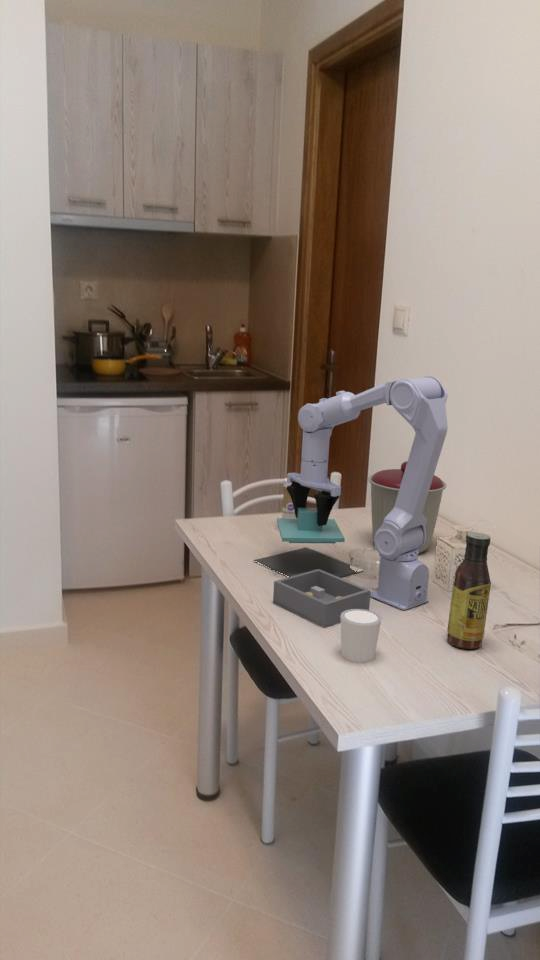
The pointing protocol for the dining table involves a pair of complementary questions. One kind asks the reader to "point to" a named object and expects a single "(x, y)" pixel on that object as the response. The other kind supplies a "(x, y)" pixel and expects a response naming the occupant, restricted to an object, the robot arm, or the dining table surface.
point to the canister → (386, 494)
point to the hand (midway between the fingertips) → (310, 521)
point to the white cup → (359, 634)
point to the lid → (308, 529)
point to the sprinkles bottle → (287, 503)
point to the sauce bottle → (470, 594)
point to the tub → (319, 596)
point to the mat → (306, 563)
